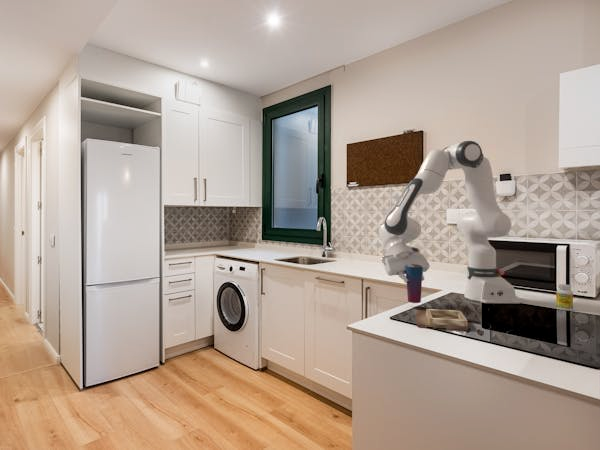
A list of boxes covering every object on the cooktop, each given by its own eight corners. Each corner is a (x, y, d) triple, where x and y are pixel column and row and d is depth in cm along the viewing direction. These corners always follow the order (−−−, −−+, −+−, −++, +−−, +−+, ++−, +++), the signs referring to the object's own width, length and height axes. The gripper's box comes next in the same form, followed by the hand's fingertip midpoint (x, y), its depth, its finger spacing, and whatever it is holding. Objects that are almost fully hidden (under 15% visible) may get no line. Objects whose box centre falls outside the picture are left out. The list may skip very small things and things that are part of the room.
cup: (409, 298, 150) (409, 263, 150) (425, 300, 146) (425, 265, 145) (403, 302, 145) (402, 266, 144) (419, 304, 141) (418, 267, 140)
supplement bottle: (571, 307, 143) (572, 284, 142) (574, 311, 138) (574, 287, 138) (555, 306, 145) (555, 283, 145) (557, 309, 141) (557, 285, 140)
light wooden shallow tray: (457, 314, 135) (458, 307, 135) (468, 330, 117) (468, 321, 117) (414, 312, 139) (414, 304, 139) (417, 327, 121) (417, 318, 121)
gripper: (382, 251, 147) (397, 279, 139) (422, 248, 155) (438, 274, 146) (376, 260, 152) (390, 287, 143) (415, 257, 159) (431, 282, 150)
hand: (415, 280), depth 145 cm, fingers closed on cup, 6 cm apart
